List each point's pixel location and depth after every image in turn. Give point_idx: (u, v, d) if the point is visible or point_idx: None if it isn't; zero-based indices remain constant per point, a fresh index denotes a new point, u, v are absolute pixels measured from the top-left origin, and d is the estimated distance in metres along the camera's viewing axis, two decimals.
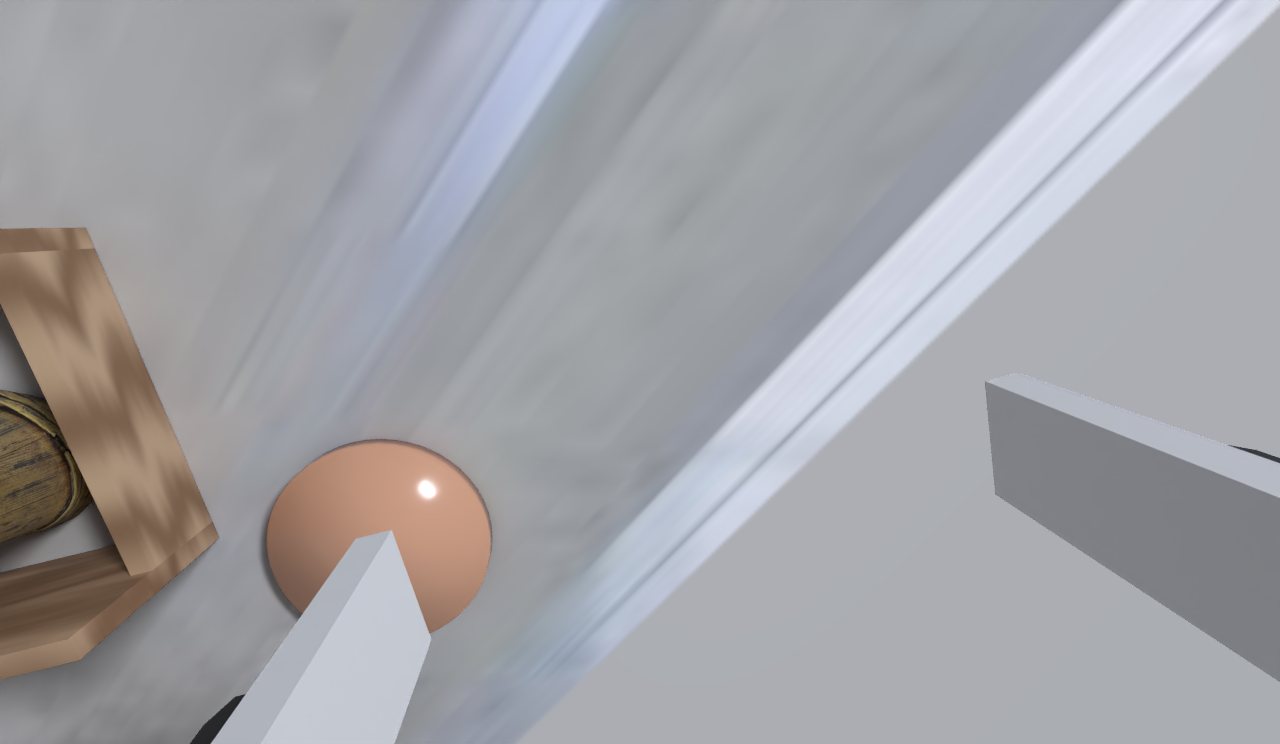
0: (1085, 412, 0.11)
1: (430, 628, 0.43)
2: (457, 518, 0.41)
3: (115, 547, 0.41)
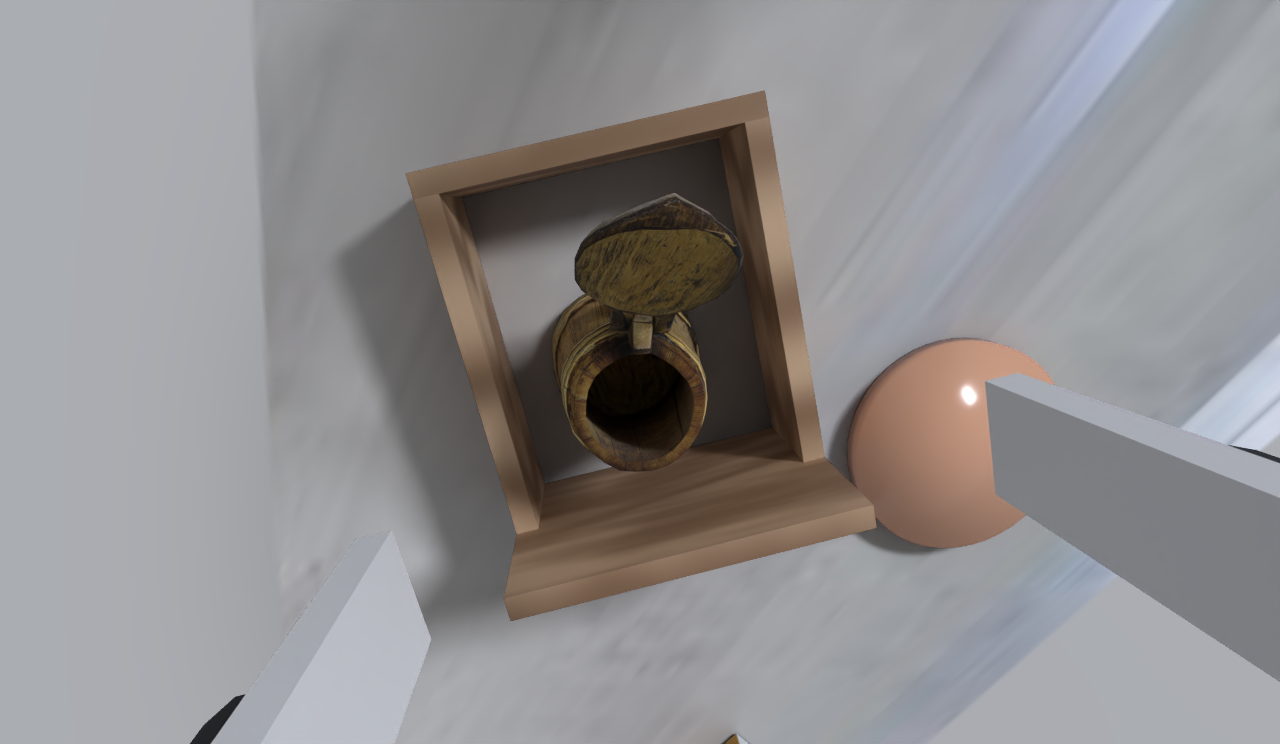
0: (1085, 412, 0.11)
1: (990, 533, 0.42)
2: None
3: (702, 447, 0.40)
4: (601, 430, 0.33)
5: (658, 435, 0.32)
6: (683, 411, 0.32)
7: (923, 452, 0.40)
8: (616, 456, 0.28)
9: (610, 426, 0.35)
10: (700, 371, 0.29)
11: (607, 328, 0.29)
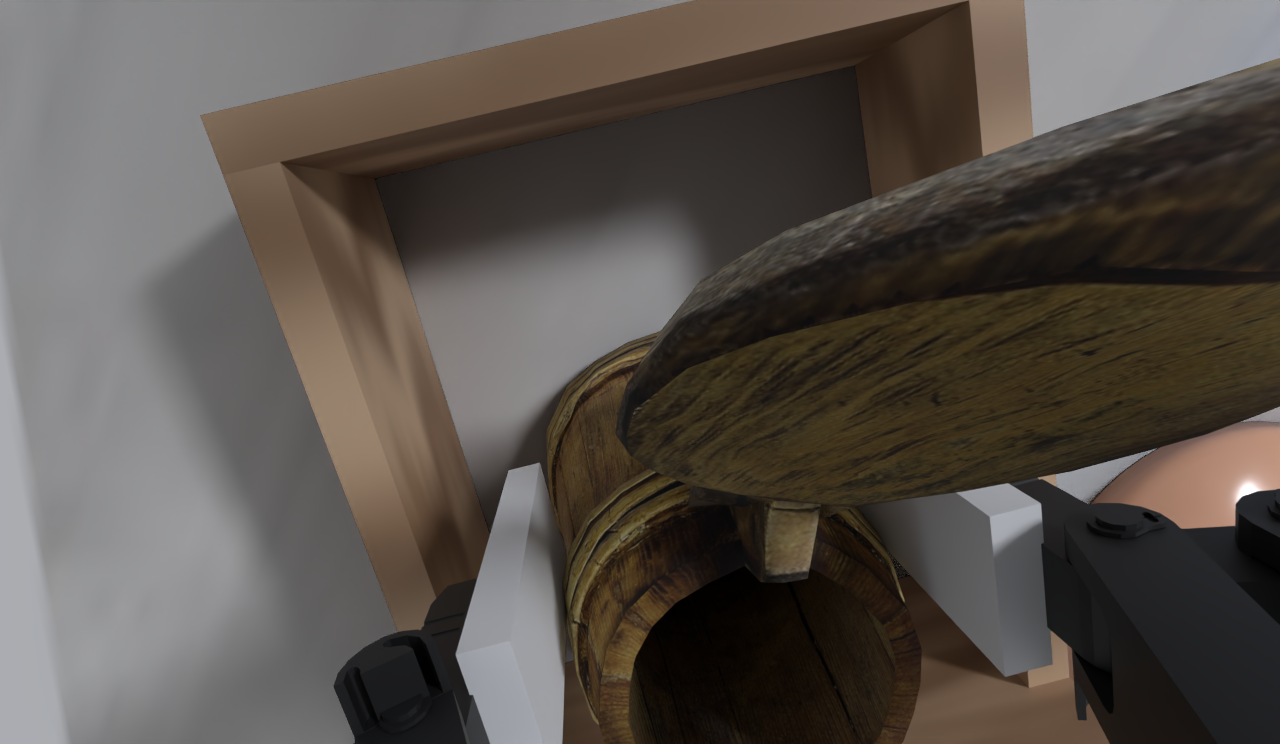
0: None
1: None
2: None
3: None
4: (647, 654, 0.16)
5: (767, 669, 0.15)
6: (823, 625, 0.15)
7: None
8: None
9: None
10: (894, 578, 0.12)
11: (674, 479, 0.12)
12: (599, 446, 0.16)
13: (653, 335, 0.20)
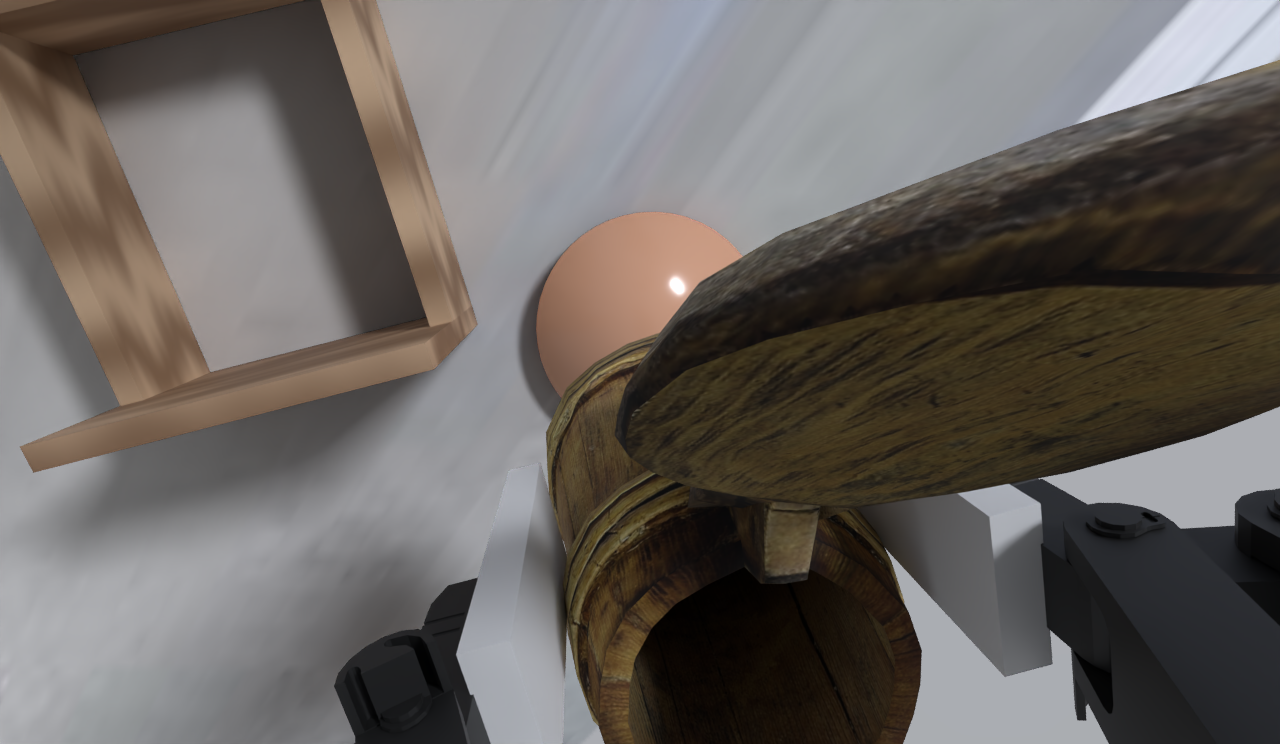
0: None
1: None
2: None
3: (373, 331, 0.38)
4: (647, 656, 0.16)
5: (767, 670, 0.15)
6: (823, 626, 0.15)
7: (609, 333, 0.38)
8: None
9: None
10: (893, 579, 0.12)
11: (674, 481, 0.12)
12: (599, 447, 0.16)
13: (653, 336, 0.20)
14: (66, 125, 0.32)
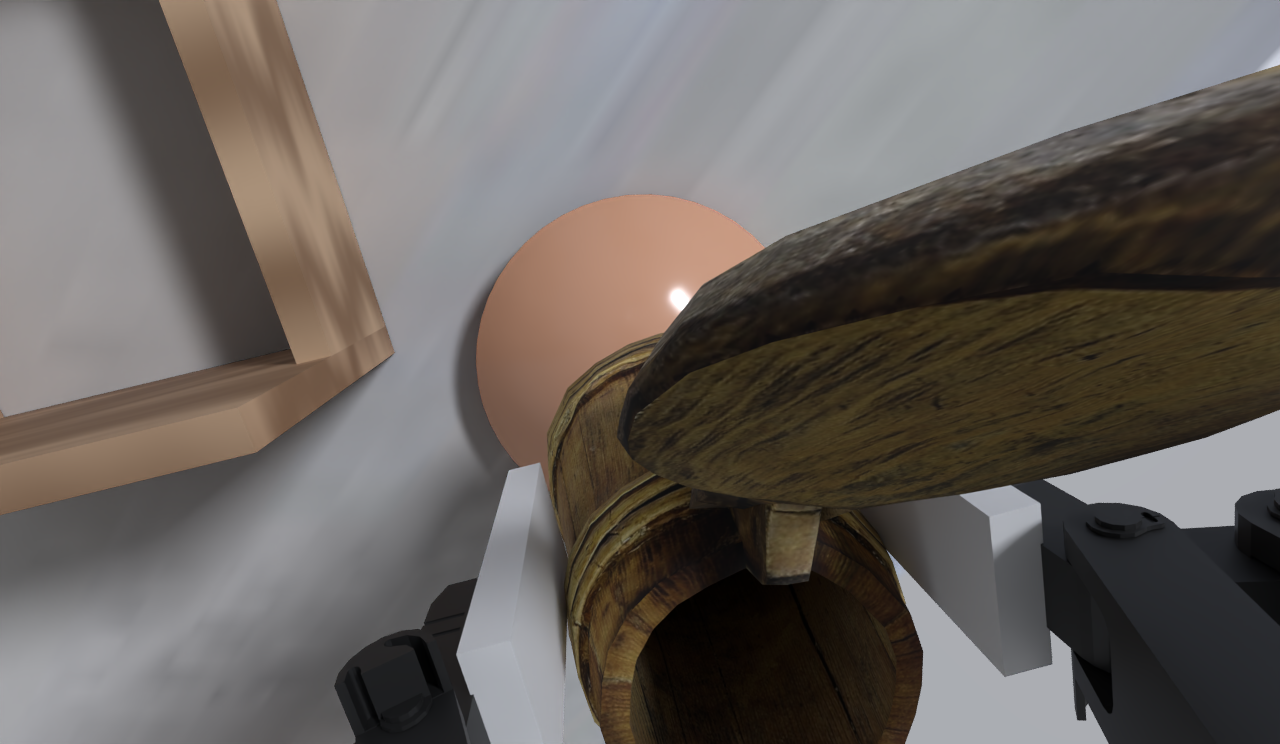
0: None
1: None
2: None
3: (240, 361, 0.26)
4: (648, 656, 0.16)
5: (768, 671, 0.15)
6: (824, 627, 0.15)
7: (582, 369, 0.27)
8: None
9: None
10: (895, 580, 0.12)
11: (675, 482, 0.12)
12: (600, 448, 0.16)
13: (653, 337, 0.20)
14: None
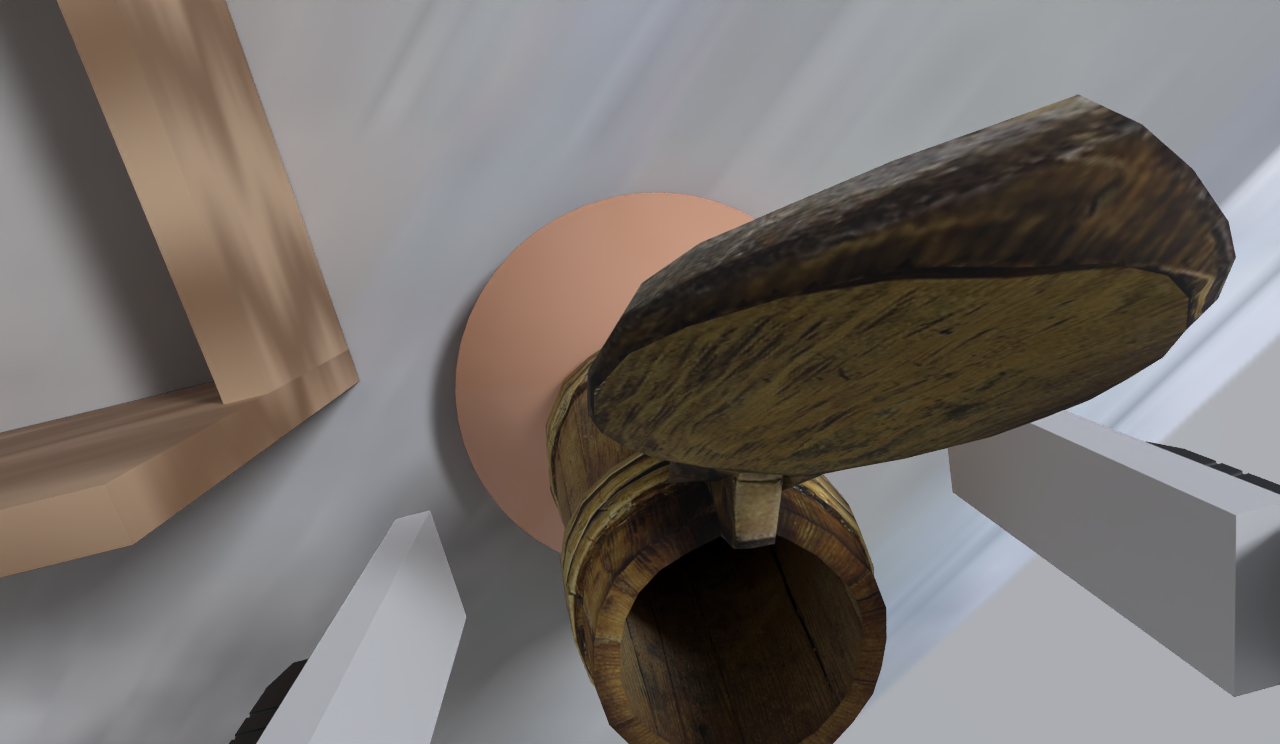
0: None
1: None
2: None
3: (174, 392, 0.22)
4: (643, 627, 0.17)
5: (755, 638, 0.17)
6: (805, 595, 0.16)
7: None
8: None
9: (654, 590, 0.20)
10: (862, 546, 0.13)
11: (658, 461, 0.13)
12: (592, 435, 0.17)
13: None
14: None
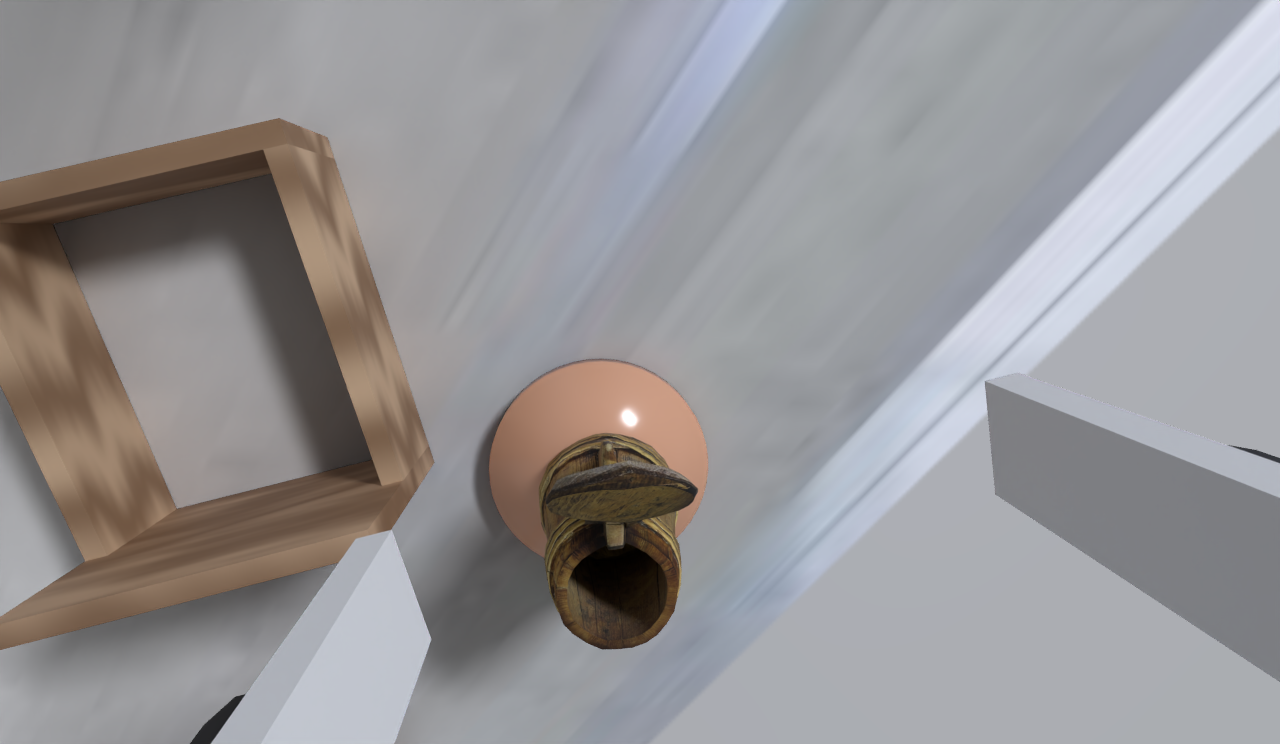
0: (1085, 412, 0.11)
1: None
2: (678, 438, 0.40)
3: (333, 471, 0.40)
4: (586, 592, 0.35)
5: (639, 596, 0.34)
6: (661, 574, 0.34)
7: None
8: (598, 636, 0.31)
9: (596, 577, 0.38)
10: (673, 549, 0.31)
11: None
12: None
13: (590, 436, 0.39)
14: (42, 297, 0.34)
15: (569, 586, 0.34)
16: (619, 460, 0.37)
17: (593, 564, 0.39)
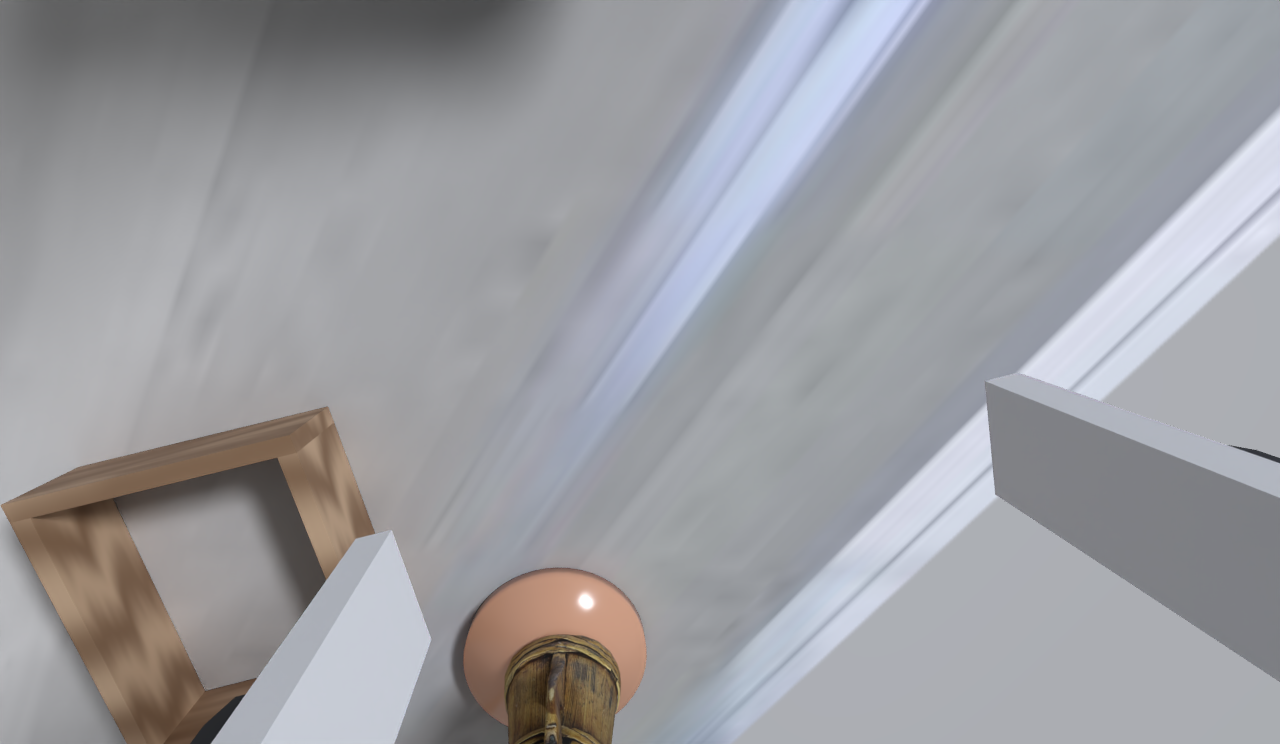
0: (1085, 412, 0.11)
1: None
2: (621, 634, 0.49)
3: None
4: None
5: None
6: None
7: None
8: None
9: None
10: None
11: (533, 742, 0.39)
12: (518, 707, 0.43)
13: (547, 638, 0.47)
14: (98, 549, 0.42)
15: None
16: (568, 668, 0.45)
17: None
